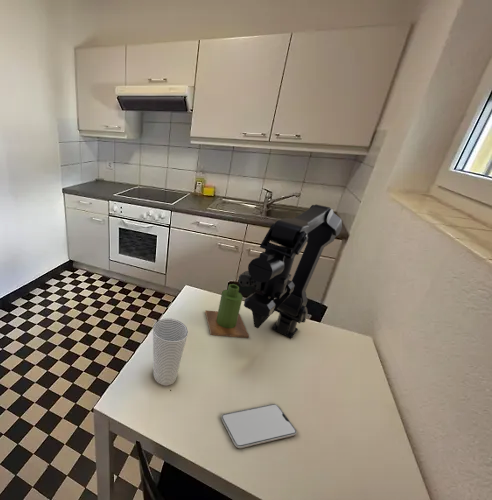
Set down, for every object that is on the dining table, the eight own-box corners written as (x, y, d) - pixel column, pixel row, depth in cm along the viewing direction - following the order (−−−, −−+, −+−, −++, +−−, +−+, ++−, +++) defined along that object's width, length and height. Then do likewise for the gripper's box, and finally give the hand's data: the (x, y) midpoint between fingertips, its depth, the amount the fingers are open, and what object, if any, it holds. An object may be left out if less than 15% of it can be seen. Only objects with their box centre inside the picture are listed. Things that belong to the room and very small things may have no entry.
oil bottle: (238, 321, 95) (246, 286, 90) (232, 331, 90) (241, 294, 85) (220, 314, 98) (227, 279, 93) (213, 323, 93) (220, 287, 88)
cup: (142, 372, 74) (145, 325, 68) (166, 359, 79) (171, 314, 73) (163, 396, 68) (168, 346, 62) (187, 380, 73) (195, 332, 66)
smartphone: (219, 414, 63) (276, 402, 67) (219, 416, 64) (275, 404, 67) (237, 447, 57) (298, 433, 60) (236, 449, 57) (298, 435, 61)
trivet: (238, 315, 100) (239, 313, 100) (248, 338, 89) (248, 335, 89) (205, 312, 100) (205, 310, 100) (210, 335, 89) (211, 332, 89)
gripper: (261, 250, 82) (250, 295, 88) (230, 269, 69) (220, 320, 76) (302, 264, 75) (286, 311, 81) (276, 287, 62) (260, 341, 69)
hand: (263, 320), depth 77 cm, fingers open, 9 cm apart
